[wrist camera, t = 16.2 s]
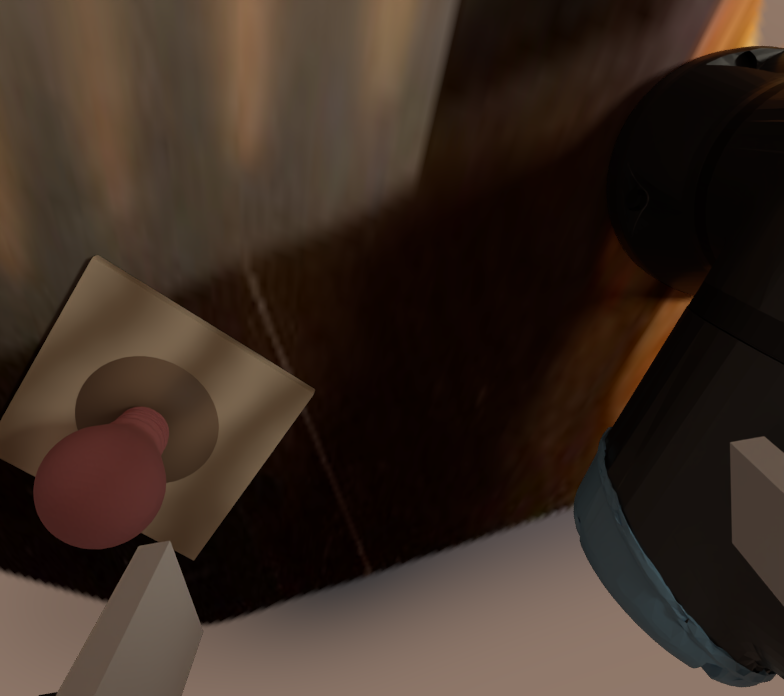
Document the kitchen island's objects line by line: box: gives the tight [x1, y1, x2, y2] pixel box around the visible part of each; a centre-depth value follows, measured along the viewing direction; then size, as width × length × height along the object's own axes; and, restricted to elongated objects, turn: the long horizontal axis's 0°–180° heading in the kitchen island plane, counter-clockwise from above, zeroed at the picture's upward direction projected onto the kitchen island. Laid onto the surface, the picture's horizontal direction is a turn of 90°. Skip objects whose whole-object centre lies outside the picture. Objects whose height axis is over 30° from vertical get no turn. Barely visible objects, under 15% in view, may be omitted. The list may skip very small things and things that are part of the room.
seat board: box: [0, 255, 315, 560], centre depth 47 cm, size 17×17×1 cm
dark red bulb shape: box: [33, 407, 169, 549], centre depth 41 cm, size 7×7×12 cm
